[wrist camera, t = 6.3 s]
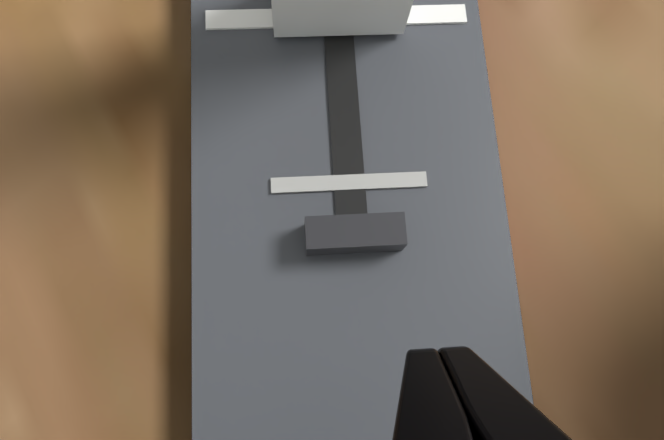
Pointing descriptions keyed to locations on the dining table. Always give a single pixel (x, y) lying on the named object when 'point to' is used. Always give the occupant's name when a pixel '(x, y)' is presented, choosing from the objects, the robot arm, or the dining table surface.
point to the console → (341, 220)
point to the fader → (339, 17)
